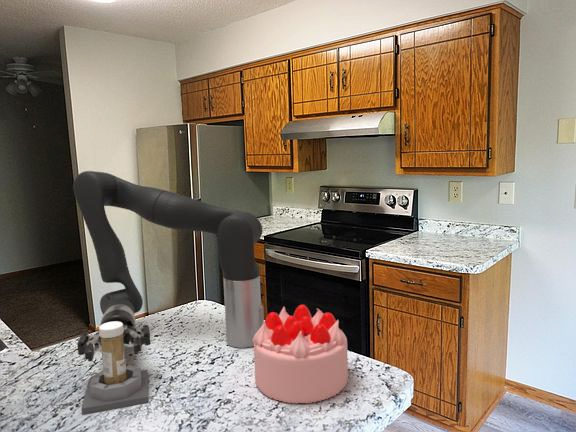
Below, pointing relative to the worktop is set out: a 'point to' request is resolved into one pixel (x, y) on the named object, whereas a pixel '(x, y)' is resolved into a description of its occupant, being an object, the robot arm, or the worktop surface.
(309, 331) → the cake
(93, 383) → the barrel socket
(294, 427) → the worktop surface
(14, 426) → the worktop surface
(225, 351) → the worktop surface
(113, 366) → the sprinkles bottle
